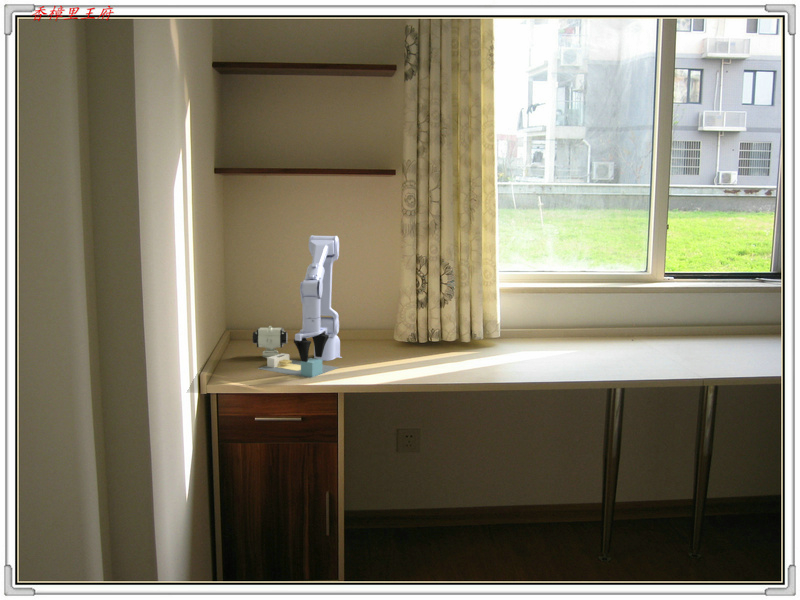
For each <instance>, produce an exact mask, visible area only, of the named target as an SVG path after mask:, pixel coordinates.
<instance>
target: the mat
mask: <svg viewBox="0 0 800 600" xmlns="http://www.w3.org/2000/svg"><path fill="white" fill-rule="evenodd" d="M289 360H291V361H292V362H291V363H289V364H283V365H280V366H277V367H275V368H273V367H268V366H267V365H264V366H261V367H257V370H263V371H268V372H274V373H278V374H284V375H290V376H296V377H300V378H301V377H302V378H306V379H312V378H315V377H317V376H321V375H323V374H326V373H329V372H331V371H334V370H336V369H337V370H338V369H340V367H338V366H334V365H333V366H331V365H328V364H327V365H325V364H322V374H320V375H317V376H314V377H309V376H303V375H301V360H296V359H291V358H289Z"/></svg>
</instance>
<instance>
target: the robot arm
mask: <svg viewBox="0 0 800 600" xmlns="http://www.w3.org/2000/svg"><path fill="white" fill-rule="evenodd" d="M308 251H309V253H310V255H311V257H312V258H311V259H312V260H311V263H310V264H309V265H308V266H307V268H306V271H305V272H306V273H305V275H304V276H305V277H304V279H303V281H301V282H300V284H299V285H300V286H299V292H300V293H299V295H300V303H301V305H302V307H301V311H302V321H301V322H302V323H301V324H302V328H301V329H300V330H299V332H297V333H295V334H294V339H293V343H294V345H295V347H296V348H297V351H298V354H299V358H300V361H303V362H307V361H308V359H309V353H310V352H309V351H310V347H311V344H312V341H313V358H316V359H322V362H327V361H333V360H335V359H337V358H339V359H340V358H343V357H342V356H341V340H340V337H339V336H338V334H339V331H340V320H339V317H340V315H339V313H338V312H337V311H336V310H335V309H333V308H332V290H333V288H332V287H333V285H332V284H333V265H334V262H335V261H338V259H339V257H340V239H339V237H338V235H313V234H312V235H310V236H309V238H308ZM309 338H312V341H311V340H308V339H309Z"/></svg>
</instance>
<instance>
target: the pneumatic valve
mask: <svg viewBox="0 0 800 600" xmlns="http://www.w3.org/2000/svg"><path fill="white" fill-rule="evenodd" d="M288 337H289V336H288V331H285V329H284V327H272V325H268V327H258V328H257V329H256V331H255V330H254V331H253V333H252V344H255V345H256V348H265V350H263V351H262V358H265V359H267V358H268V357H271V356H275V355H278V354H279V351H278V349H277V348H283V347H284V345H285V344H286V345H287V344H288Z"/></svg>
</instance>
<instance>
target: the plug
mask: <svg viewBox="0 0 800 600" xmlns="http://www.w3.org/2000/svg"><path fill="white" fill-rule="evenodd" d="M300 361H301V360H300ZM322 365H323V361H322V359H316V358H314V357H308V361H307V362H303V361H301V375H303V376H309V377H312V378H315V377H317V375H318V376H321V375H323V374H322ZM320 374H321V375H320ZM314 376H315V377H314Z"/></svg>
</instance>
